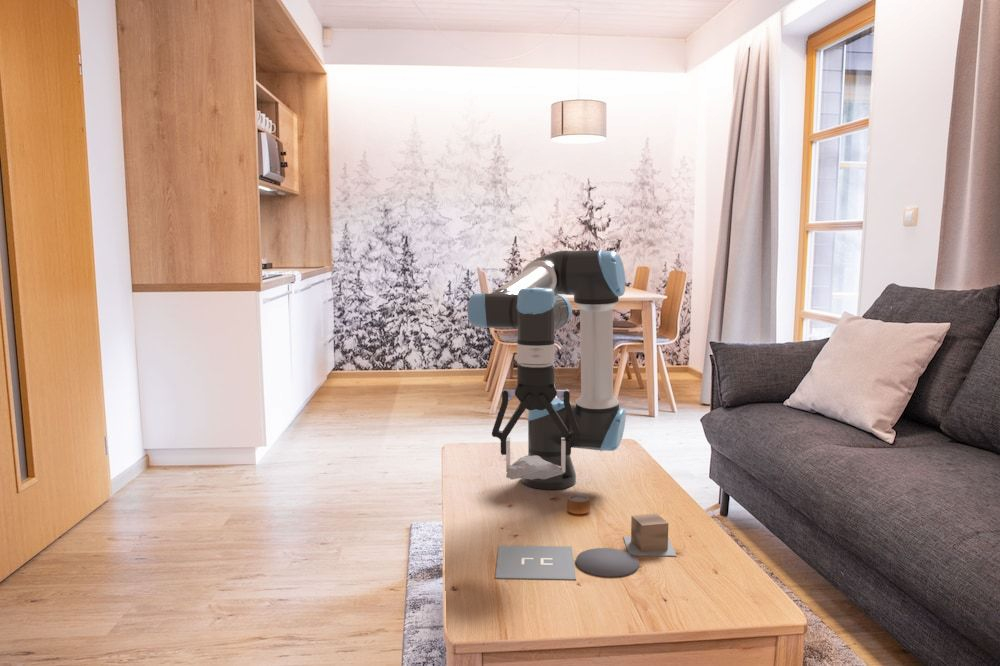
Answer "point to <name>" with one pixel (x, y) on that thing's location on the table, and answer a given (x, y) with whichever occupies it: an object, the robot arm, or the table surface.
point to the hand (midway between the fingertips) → (535, 470)
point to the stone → (533, 468)
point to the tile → (637, 552)
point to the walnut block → (649, 532)
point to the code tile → (535, 562)
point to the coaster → (607, 562)
